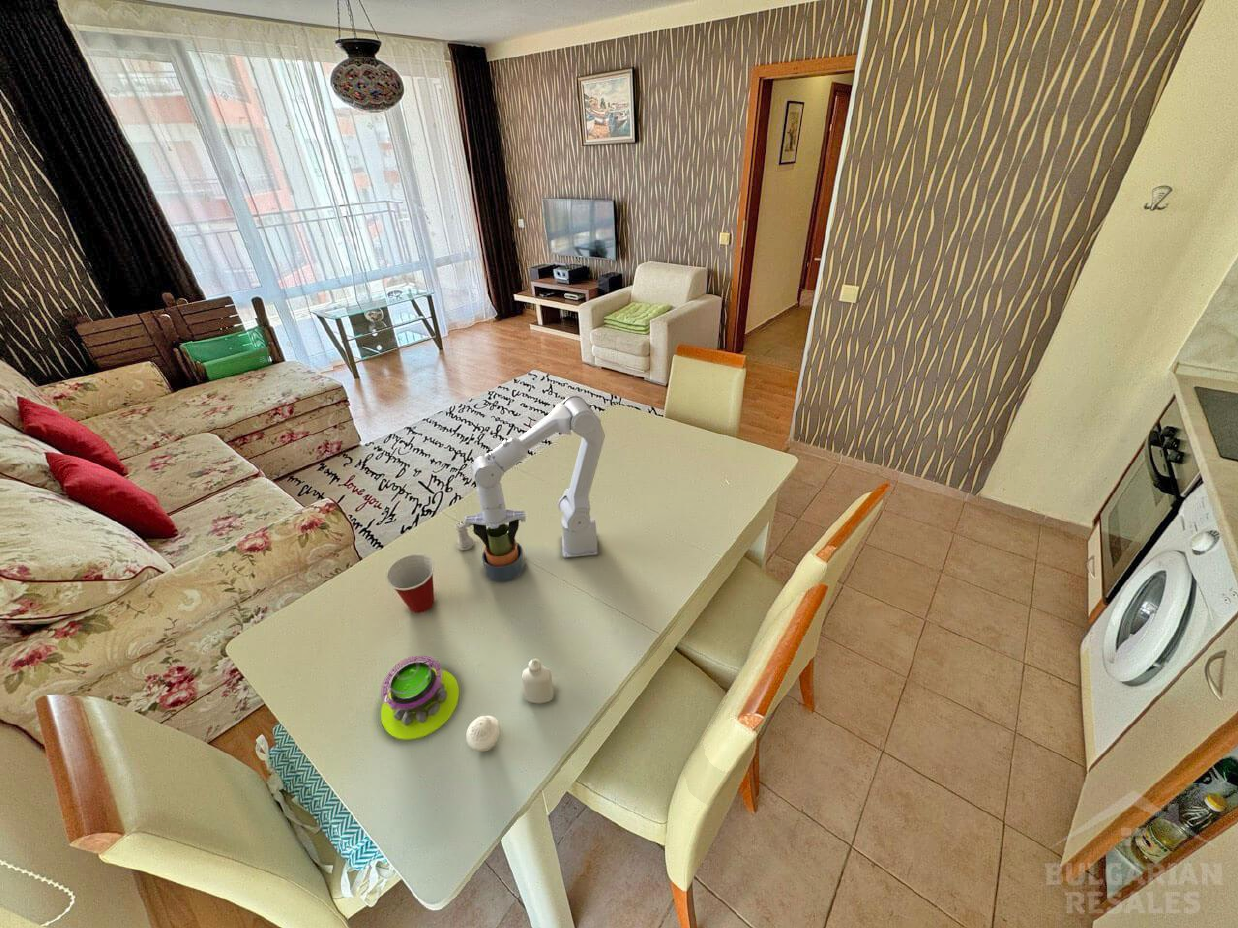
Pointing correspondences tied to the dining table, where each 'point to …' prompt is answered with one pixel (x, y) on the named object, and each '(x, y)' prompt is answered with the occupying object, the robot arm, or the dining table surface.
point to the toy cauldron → (418, 699)
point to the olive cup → (499, 540)
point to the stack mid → (502, 557)
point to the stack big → (505, 568)
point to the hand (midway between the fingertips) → (500, 543)
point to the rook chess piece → (463, 537)
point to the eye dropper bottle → (537, 683)
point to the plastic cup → (413, 581)
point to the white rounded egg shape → (483, 733)
